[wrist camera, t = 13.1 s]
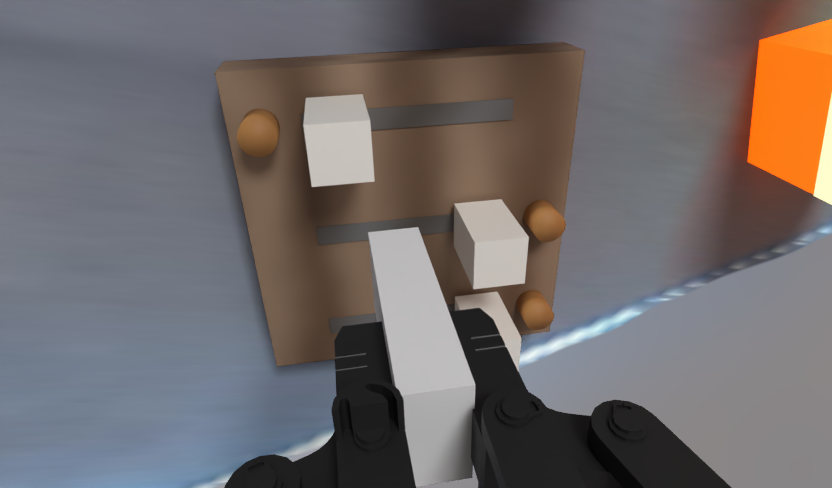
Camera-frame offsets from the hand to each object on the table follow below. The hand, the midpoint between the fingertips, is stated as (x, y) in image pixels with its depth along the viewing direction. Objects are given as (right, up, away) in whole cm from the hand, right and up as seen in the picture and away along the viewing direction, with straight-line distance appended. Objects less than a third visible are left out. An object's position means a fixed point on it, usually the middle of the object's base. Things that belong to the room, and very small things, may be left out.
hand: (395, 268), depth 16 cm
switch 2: (+5, +2, +17) cm, 18 cm away
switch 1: (-4, +7, +13) cm, 15 cm away
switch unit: (0, +3, +19) cm, 20 cm away
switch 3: (+5, -4, +21) cm, 22 cm away
